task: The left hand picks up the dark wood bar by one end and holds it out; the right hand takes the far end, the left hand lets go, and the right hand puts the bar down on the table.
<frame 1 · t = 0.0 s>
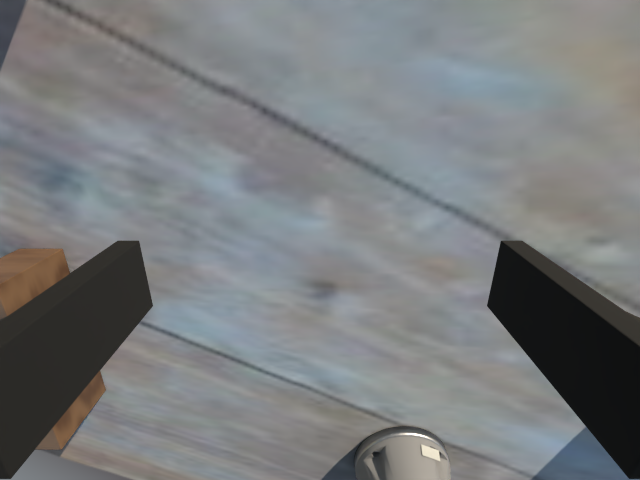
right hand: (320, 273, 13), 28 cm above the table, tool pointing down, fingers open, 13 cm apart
bar: (66, 325, 47), on the table
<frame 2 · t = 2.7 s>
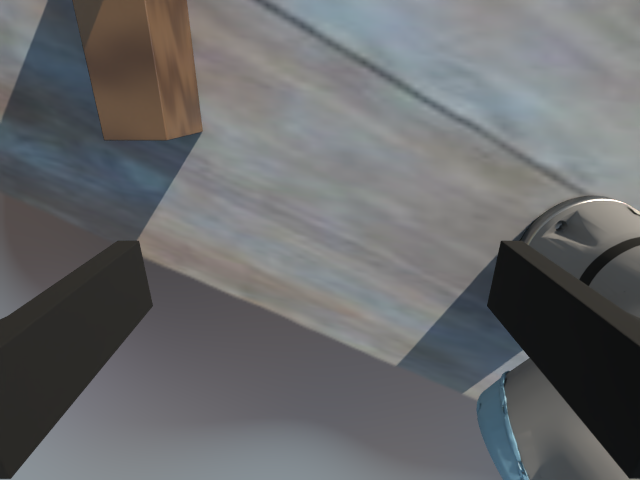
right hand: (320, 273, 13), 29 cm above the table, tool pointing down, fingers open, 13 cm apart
bar: (160, 9, 34), on the table, touching left hand
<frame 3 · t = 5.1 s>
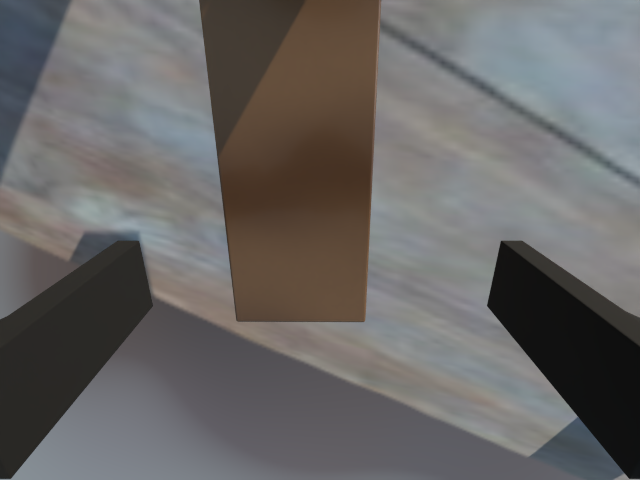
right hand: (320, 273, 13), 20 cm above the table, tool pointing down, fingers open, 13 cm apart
bar: (306, 44, 19), point 9 cm above the table, touching left hand
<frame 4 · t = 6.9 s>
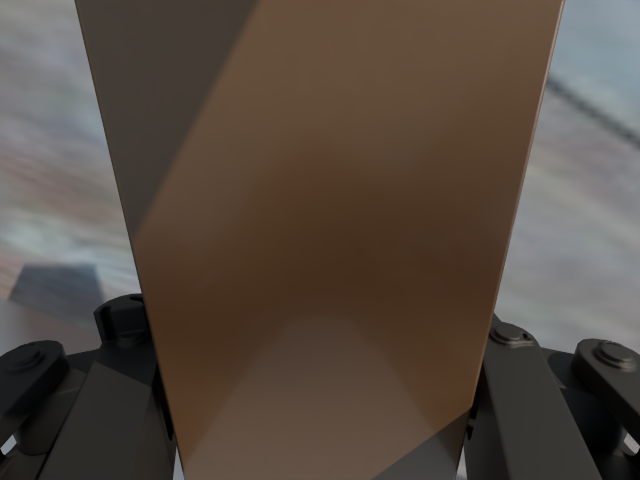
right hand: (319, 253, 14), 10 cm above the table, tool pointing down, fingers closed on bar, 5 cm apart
bar: (319, 10, 12), point 9 cm above the table, touching right hand, left hand
when the left hand's fingers open (15 cm above the table, at t = 7.7 s): bar stays where it is, held by the right hand.
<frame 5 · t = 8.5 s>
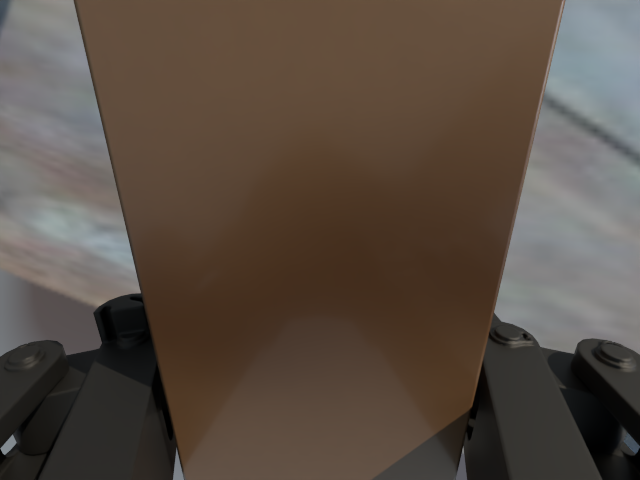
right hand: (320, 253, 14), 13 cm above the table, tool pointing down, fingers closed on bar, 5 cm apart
bar: (319, 9, 12), point 12 cm above the table, touching right hand
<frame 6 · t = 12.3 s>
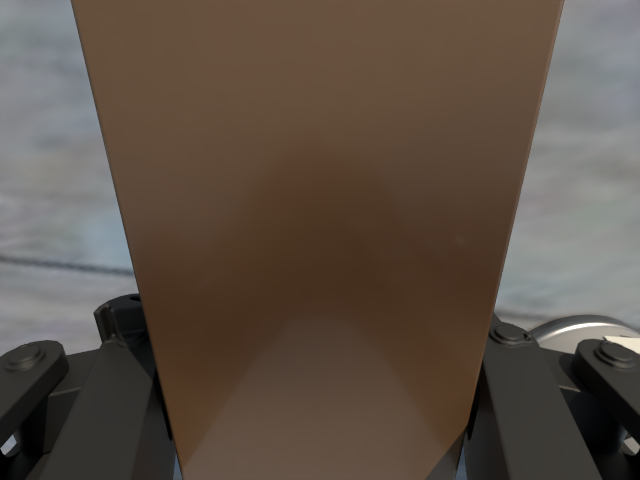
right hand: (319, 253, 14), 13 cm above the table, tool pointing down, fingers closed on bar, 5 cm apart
bar: (319, 8, 12), point 12 cm above the table, touching right hand
when the right hand's fingers open (2 cm above the table, at t = 17.9 s): bar drops 1 cm, on the table.
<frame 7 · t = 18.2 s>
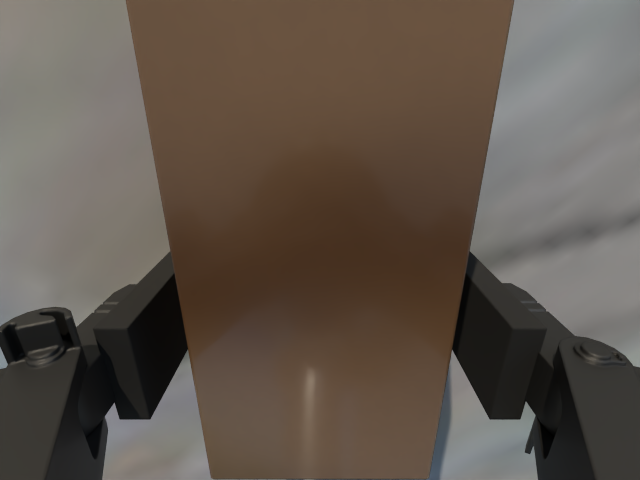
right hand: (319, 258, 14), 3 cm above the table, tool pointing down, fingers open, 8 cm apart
bar: (319, 20, 13), on the table
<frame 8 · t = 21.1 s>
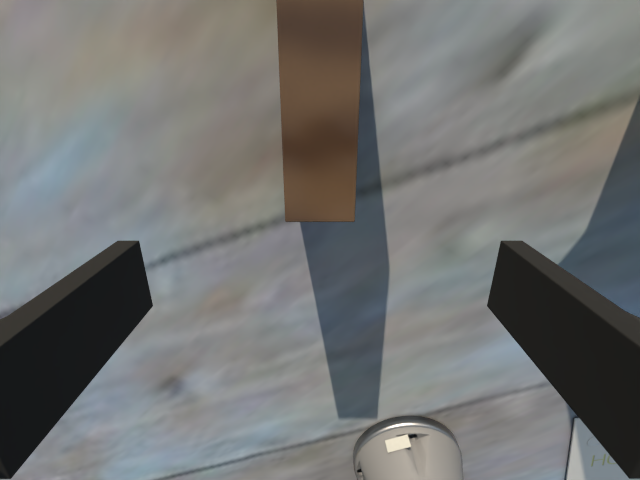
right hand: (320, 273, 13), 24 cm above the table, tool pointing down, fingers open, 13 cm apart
bar: (319, 68, 31), on the table
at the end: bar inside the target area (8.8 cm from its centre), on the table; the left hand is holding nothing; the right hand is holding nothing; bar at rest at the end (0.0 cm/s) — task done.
